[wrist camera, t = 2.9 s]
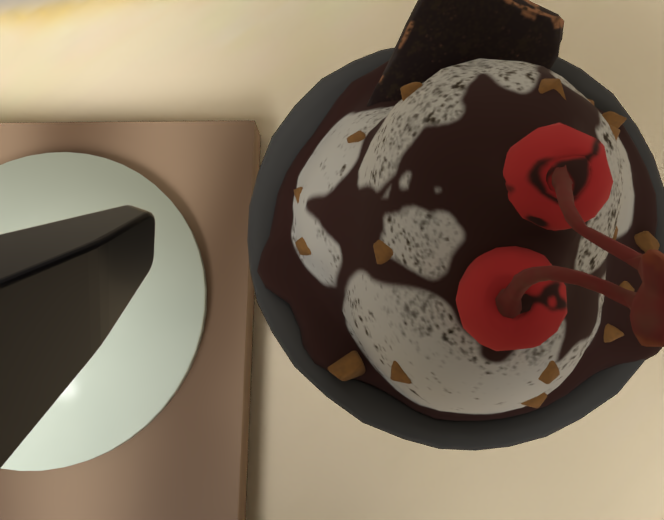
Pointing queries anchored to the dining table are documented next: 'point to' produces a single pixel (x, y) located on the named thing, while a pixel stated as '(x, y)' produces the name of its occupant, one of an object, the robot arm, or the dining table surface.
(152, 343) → the coaster
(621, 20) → the dining table surface
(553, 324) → the sundae
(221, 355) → the serving board
